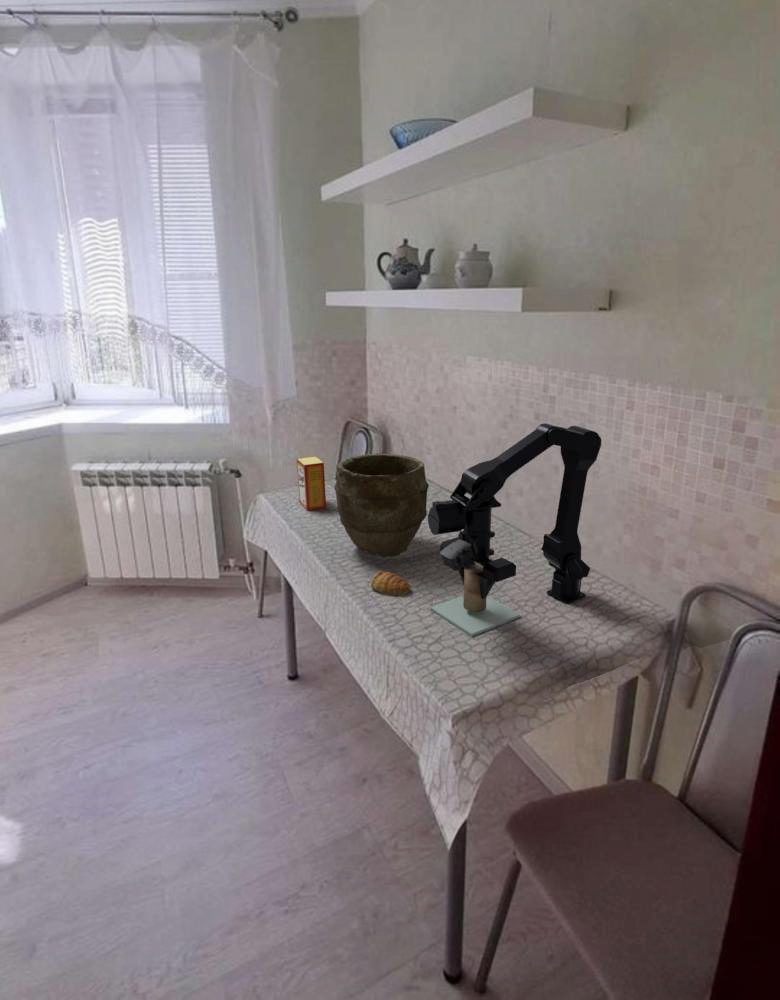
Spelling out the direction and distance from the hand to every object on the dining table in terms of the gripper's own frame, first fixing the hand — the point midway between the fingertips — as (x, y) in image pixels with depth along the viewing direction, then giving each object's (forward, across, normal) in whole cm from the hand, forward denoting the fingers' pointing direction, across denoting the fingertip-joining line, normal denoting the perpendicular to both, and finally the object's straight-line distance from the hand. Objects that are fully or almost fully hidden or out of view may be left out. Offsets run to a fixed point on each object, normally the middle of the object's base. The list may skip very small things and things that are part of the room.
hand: (475, 593), depth 135 cm
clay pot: (+5, -43, +4) cm, 43 cm away
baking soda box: (+5, -88, +5) cm, 88 cm away
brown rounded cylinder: (+3, 0, 0) cm, 3 cm away
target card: (+5, 0, 0) cm, 5 cm away
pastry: (+5, -21, -8) cm, 24 cm away
